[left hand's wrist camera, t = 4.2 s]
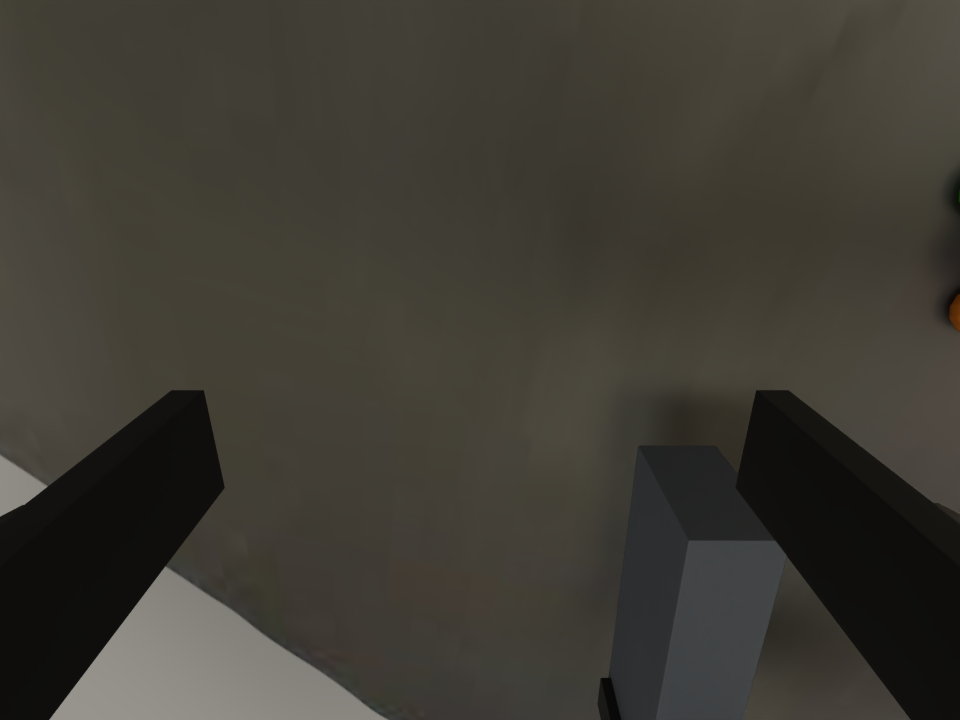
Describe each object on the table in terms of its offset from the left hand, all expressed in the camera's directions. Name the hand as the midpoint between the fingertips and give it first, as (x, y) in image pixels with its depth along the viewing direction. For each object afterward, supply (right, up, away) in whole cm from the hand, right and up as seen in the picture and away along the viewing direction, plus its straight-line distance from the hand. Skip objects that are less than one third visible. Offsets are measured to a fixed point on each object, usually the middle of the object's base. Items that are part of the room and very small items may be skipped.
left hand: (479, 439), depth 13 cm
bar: (+12, -14, +23) cm, 29 cm away
